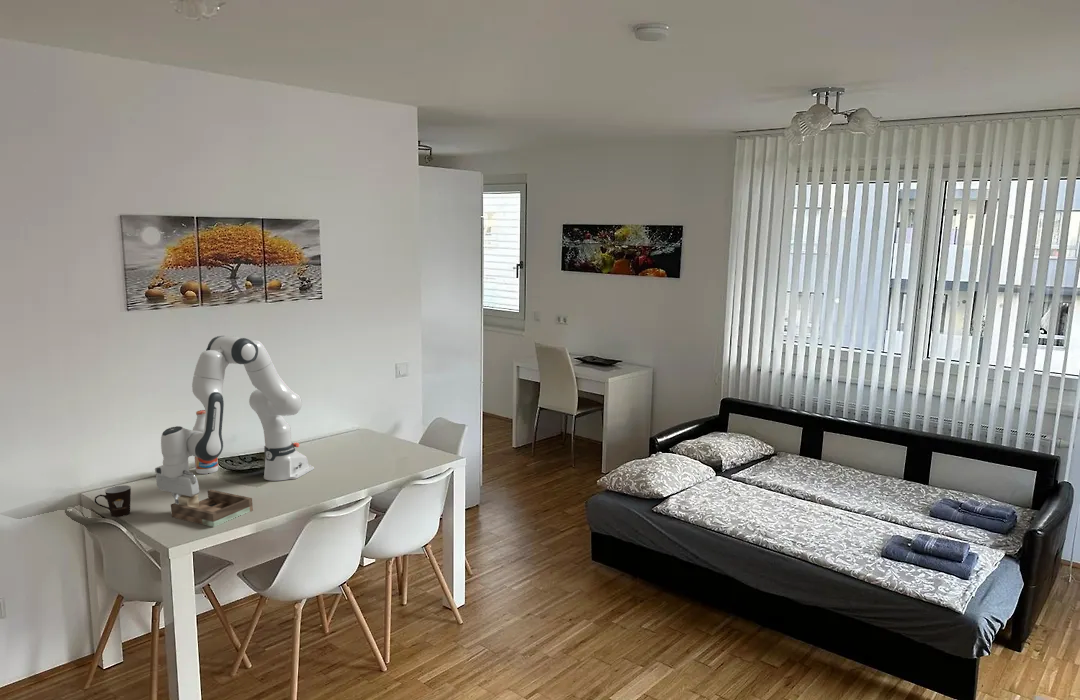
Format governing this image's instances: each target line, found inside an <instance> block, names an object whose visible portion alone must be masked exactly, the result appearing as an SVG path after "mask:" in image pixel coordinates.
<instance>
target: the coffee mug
mask: <svg viewBox="0 0 1080 700" xmlns="http://www.w3.org/2000/svg"><path fill="white" fill-rule="evenodd" d="M104 493H105V494H98V495H96V496H95V497H94V502H95V504H96V505H98V506H99V507H101V508H104V509H108V510H109V512H110V515H111V517H113V518H121V517H124V516H127V515H129V514H131V499H132V498H131V494H132V487H131V486H130V485H127V484H123V485H114V486H111V487H109V488H106V489H105V490H104ZM99 497H103V498H105V500H107V505H108V506H105V505H103V504H100V503H98V501H97V499H98V498H99Z"/></svg>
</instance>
